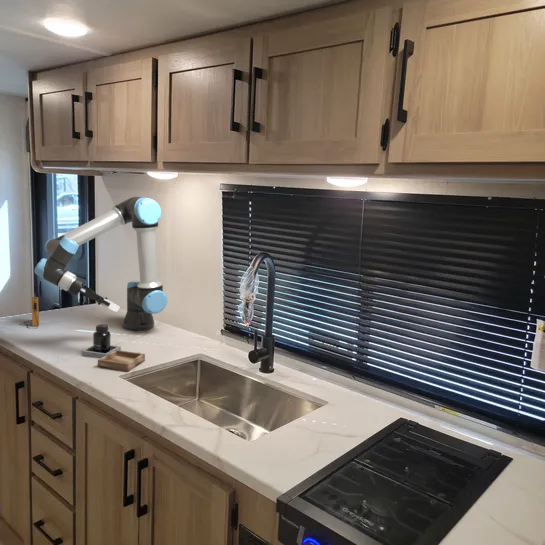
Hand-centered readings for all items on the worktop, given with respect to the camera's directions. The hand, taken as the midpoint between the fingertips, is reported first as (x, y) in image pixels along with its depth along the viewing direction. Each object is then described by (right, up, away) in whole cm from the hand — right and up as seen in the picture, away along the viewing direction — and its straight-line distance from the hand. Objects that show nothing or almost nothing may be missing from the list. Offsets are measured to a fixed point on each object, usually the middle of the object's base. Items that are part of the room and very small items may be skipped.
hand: (117, 309), depth 209 cm
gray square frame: (-5, -18, -4) cm, 19 cm away
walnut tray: (+6, -21, -15) cm, 26 cm away
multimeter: (-53, -10, +29) cm, 61 cm away
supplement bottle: (-5, -18, -4) cm, 20 cm away
